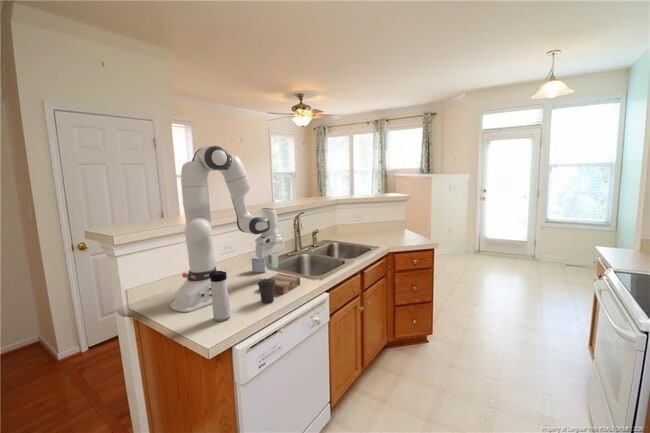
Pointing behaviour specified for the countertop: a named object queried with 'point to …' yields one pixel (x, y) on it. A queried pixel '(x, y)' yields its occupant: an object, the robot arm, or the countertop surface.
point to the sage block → (272, 261)
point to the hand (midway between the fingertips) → (271, 261)
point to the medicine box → (258, 265)
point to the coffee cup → (266, 290)
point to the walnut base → (285, 283)
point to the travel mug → (220, 295)
